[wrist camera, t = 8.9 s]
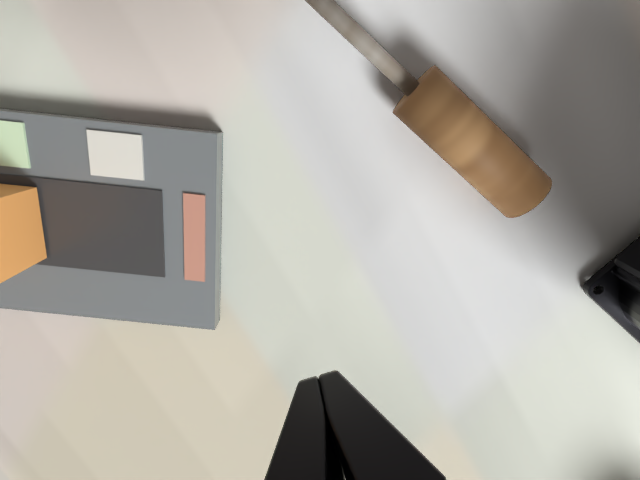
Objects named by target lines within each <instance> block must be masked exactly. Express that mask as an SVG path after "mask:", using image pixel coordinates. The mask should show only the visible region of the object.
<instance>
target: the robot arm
mask: <svg viewBox="0 0 640 480" xmlns="http://www.w3.org/2000/svg"><path fill="white" fill-rule="evenodd" d="M596 286H598V288H597V290H595V291H593V289H594V288H595V287H596ZM583 291H584V292H585V294H587V295H588V296H589V297H590V298H591V299H592V300H593V301H594V302H595V303H596V304H597V305H599V306H600V307H601V308H602V309H603V310H604V311H605V312H606V313H607V314H608V315H609V316H611V317H612V318H613V319H614V320H615V321H616V322H617V323H618V324H619V325H620V326H621V327H623V328H624V329H625V330H626V331H627V332H628V333H629V334H630V335H631V336H632V337H633V338H635V339H636V340H637V341H638V342H639V343H640V237H639V238H638V239H637V240H635V241H634V242H633V243H632V244H631V245H629V246H628V247H627V248H626V249H625V250H623V251H622V252H621V253H620V254H619V255H617V256H616V257H615V258H614V259H613V260H611V261H610V262H609V263H608V264H607V265H605V266H604V267H603V268H602V269H601V270H599V271H598V272H597V273H596V274H595V275H593V276H592V277H591V278H590V279H589V280H587V282H586V283H585V284H584V286H583ZM344 476H345V477H344ZM345 479H346V480H446V477H445V476H444V475H443V474H442V473H441V472H440V471H439V470H438V469H437V468H436V467H435V466H434V465H433V464H432V463H431V462H430V461H429V460H428V459H427V458H426V457H425V456H424V455H423V454H422V453H421V452H420V451H419V450H418V449H417V448H416V447H415V446H414V445H413V444H412V443H411V442H410V441H409V440H408V439H407V438H406V437H405V436H403V435H402V434H401V433H400V432H399V431H398V430H397V429H396V428H395V427H394V426H393V425H392V424H391V423H390V422H389V421H388V420H387V419H386V418H385V417H384V416H383V415H382V414H381V413H380V412H379V411H378V410H377V409H376V408H375V407H374V406H373V405H372V404H371V403H370V402H369V401H368V400H367V399H366V398H365V397H364V396H363V395H362V394H361V393H360V392H359V391H358V390H357V389H356V388H355V387H354V386H353V385H352V384H351V383H350V382H349V381H348V380H347V379H346V378H345V377H344V376H343V375H342V374H340V373H339V372H338V371H336V370H334V371H331V372H327V373H324V374H321V375H320V376H319V379H318V377H316V376H314V377H311V378H307V379H304V380H301V381H300V382H299V383H298V385H297V388H296V391H295V394H294V396H293V399H292V402H291V405H290V408H289V411H288V414H287V416H286V419H285V422H284V425H283V428H282V431H281V434H280V436H279V439H278V442H277V445H276V448H275V451H274V454H273V456H272V459H271V462H270V465H269V468H268V471H267V474H266V476H265V479H264V480H345Z"/></svg>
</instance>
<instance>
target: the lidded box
mask: <svg viewBox="0 0 640 480" xmlns="http://www.w3.org/2000/svg"><path fill="white" fill-rule="evenodd" d="M46 258H47V255H46V248H45V241H44V234H43V227H42V220H41V213H40V206H39V200H38V193H37V187H29V186H19V185H9V184H0V283H2V282H4V281H6V280H7V279H9V278H11V277H13V276H15V275H17V274H18V273H20V272H22V271H24V270H26V269H27V268H29V267H31V266H33V265H35V264H37V263H38V262H40V261H42V260H44V259H46Z"/></svg>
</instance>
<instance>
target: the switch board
mask: <svg viewBox="0 0 640 480" xmlns="http://www.w3.org/2000/svg"><path fill="white" fill-rule="evenodd" d="M222 160H223V132H217V131H207V130H198V129H188V128H179V127H170V126H160V125H151V124H141V123H132V122H123V121H113V120H104V119H94V118H85V117H76V116H66V115H57V114H47V113H38V112H28V111H19V110H10V109H0V184H9V185H19V186H29V187H37V193H38V200H39V206H40V213H41V220H42V227H43V234H44V241H45V248H46V255H47V258H46V259H44V260H42V261H40V262H38V263H37V264H35V265H33V266H31V267H29V268H27V269H26V270H24V271H22V272H20V273H18V274H17V275H15V276H13V277H11V278H9V279H7V280H6V281H4V282H2V283H0V308H4V309H14V310H24V311H34V312H44V313H53V314H63V315H73V316H83V317H93V318H103V319H112V320H122V321H132V322H142V323H152V324H162V325H171V326H181V327H191V328H201V329H211V330H215V328H216V326H217V324H218V322H219V321H220V280H221V220H222Z"/></svg>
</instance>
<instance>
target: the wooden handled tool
mask: <svg viewBox="0 0 640 480" xmlns="http://www.w3.org/2000/svg"><path fill="white" fill-rule="evenodd" d="M305 1H306V2H307V3H308V4H309V5H310V6H311V7H313V8H314V9H315V10H316V11H317V12H318V13H319V14H320V15H321V16H322V17H323V18H324V19H325V20H326V21H327V22H328V23H330V24H331V25H332V26H333V27H334V28H335V29H336V30H337V31H338V32H339V33H340V34H341V35H342V36H343V37H344V38H345V39H347V40H348V41H349V42H350V43H351V44H352V45H353V46H354V47H355V48H356V49H357V50H358V51H359V52H360V53H361V54H363V55H364V56H365V57H366V58H367V59H368V60H369V61H370V62H371V63H372V64H373V65H374V66H375V67H376V68H377V69H378V70H380V71H381V72H382V73H383V74H384V75H385V76H386V77H387V78H388V79H389V80H390V81H391V82H392V83H393V84H394V85H395V86H397V87H398V88H399V89H400V90H401V91H402V92H403V93H404V94H405V95H404V96H403V97H402V98H401V100H400V101H399V102H398V104H397V105H396V107H395V109H394V110H393V113H394V114H395V115H396V116H397V117H398V118H399V119H400V120H401V121H402V122H403V123H404V124H406V125H407V126H408V127H409V128H410V129H411V130H412V131H413V132H414V133H415V134H416V135H418V136H419V137H420V138H421V139H422V140H423V141H424V142H425V143H426V144H427V145H428V146H429V147H431V148H432V149H433V150H434V151H435V152H436V153H437V154H438V155H439V156H440V157H441V158H443V159H444V160H445V161H446V162H447V163H448V164H449V165H450V166H451V167H452V168H453V169H454V170H456V171H457V172H458V173H459V174H460V175H461V176H462V177H463V178H464V179H465V180H466V181H468V182H469V183H470V184H471V185H472V186H473V187H474V188H475V189H476V190H477V191H478V192H479V193H481V194H482V195H483V196H484V197H485V198H486V199H487V200H488V201H489V202H490V203H491V204H493V205H494V206H495V207H496V208H497V209H498V210H499V211H500V212H501V213H502V214H503V215H505V216H506V217H508V218H514V217H518V216H521V215H523V214H525V213H527V212H529V211H530V210H532V209H533V208H535V207H536V206H537V205H538V204H539V203H540V202H541V201H542V200H543V199H544V198H545V197H546V196H547V194H548V193H549V191H550V189H551V186H552V180H551V178H550V177H549V176H548V175H547V174H546V173H545V172H544V171H543V170H542V169H541V168H540V167H539V166H538V165H537V164H535V163H534V162H533V161H532V160H531V159H530V158H529V157H528V156H527V155H526V154H525V153H524V152H523V151H522V150H521V149H520V148H519V147H518V146H517V145H516V144H515V143H514V142H513V141H512V140H511V139H510V138H509V137H508V136H507V135H506V134H505V133H504V132H503V131H502V130H501V129H500V128H499V127H498V126H497V125H496V124H495V123H494V122H493V121H492V120H491V119H490V118H489V117H488V116H487V115H486V114H485V113H483V112H482V111H481V110H480V109H479V108H478V107H477V106H476V105H475V104H474V103H473V102H472V101H471V100H470V99H469V98H468V97H467V96H466V95H465V94H464V93H463V92H462V91H461V90H460V89H459V88H458V87H457V86H456V85H455V84H454V83H453V82H452V81H451V80H450V79H449V78H448V77H447V76H446V75H445V74H444V73H443V72H442V71H441V70H440V69H439V68H438V67H437V66H436V65H434V66H432V67H431V68H429V69H428V70H427V71H426V72H425V73H424V74H423V75H422V76H421V77H420V78H419V79H418V80H416V79H415V78H414V77H413V76H412V75H411V74H410V73H409V72H408V71H407V70H406V69H405V68H404V67H403V66H402V65H401V64H400V63H398V62H397V61H396V60H395V59H394V58H393V57H392V56H391V55H390V54H389V53H388V52H387V51H386V50H385V49H384V48H383V47H382V46H381V45H380V44H379V43H378V42H377V41H376V40H374V39H373V38H372V37H371V36H370V35H369V34H368V33H367V32H366V31H365V30H364V29H363V28H362V27H361V26H360V25H359V24H358V23H357V22H356V21H355V20H354V19H353V18H352V17H350V16H349V15H348V14H347V13H346V12H345V11H344V10H343V9H342V8H341V7H340V6H339V5H338V4H337V3H336V2H335V1H334V0H305Z"/></svg>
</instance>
